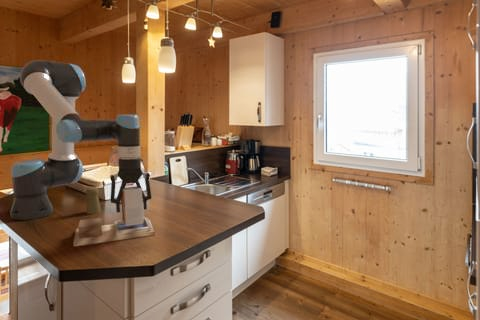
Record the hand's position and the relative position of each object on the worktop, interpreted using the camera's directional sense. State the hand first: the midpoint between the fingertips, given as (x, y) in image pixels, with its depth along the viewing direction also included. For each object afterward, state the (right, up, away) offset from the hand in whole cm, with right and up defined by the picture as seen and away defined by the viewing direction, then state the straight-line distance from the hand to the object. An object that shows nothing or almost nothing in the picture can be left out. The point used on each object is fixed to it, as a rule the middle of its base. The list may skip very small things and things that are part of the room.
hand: (132, 219), depth 115 cm
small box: (0, -1, 0) cm, 1 cm away
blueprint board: (-6, -5, -2) cm, 8 cm away
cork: (-25, -1, +22) cm, 33 cm away
